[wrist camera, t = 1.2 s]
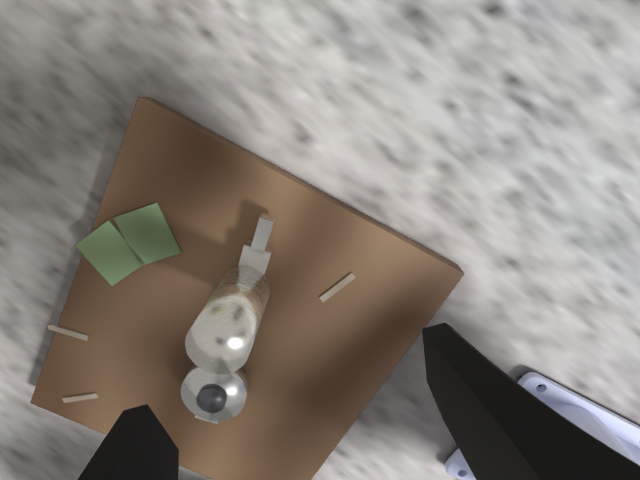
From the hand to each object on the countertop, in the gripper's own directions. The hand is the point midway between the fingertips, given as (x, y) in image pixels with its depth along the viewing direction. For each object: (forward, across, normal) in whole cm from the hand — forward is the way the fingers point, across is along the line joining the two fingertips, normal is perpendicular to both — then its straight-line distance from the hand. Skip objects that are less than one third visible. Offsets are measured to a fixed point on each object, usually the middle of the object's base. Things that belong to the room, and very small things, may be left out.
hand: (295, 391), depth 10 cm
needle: (+8, +3, +4) cm, 9 cm away
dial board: (+9, +4, +5) cm, 11 cm away
